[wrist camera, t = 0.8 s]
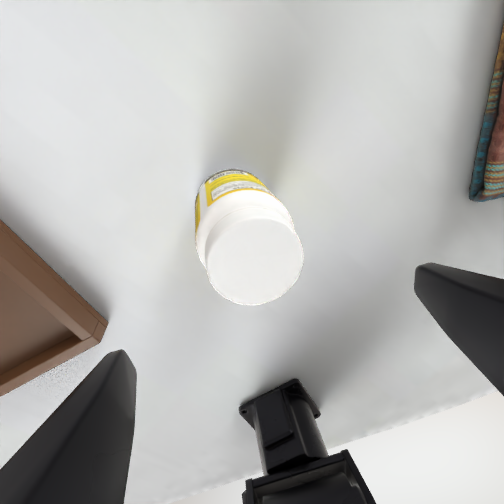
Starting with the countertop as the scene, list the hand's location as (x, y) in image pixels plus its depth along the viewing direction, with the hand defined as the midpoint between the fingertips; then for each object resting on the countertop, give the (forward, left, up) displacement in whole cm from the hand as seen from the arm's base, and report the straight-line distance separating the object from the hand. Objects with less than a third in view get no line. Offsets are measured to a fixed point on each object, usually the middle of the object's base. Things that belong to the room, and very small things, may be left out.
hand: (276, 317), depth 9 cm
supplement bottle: (0, 0, -12) cm, 12 cm away
